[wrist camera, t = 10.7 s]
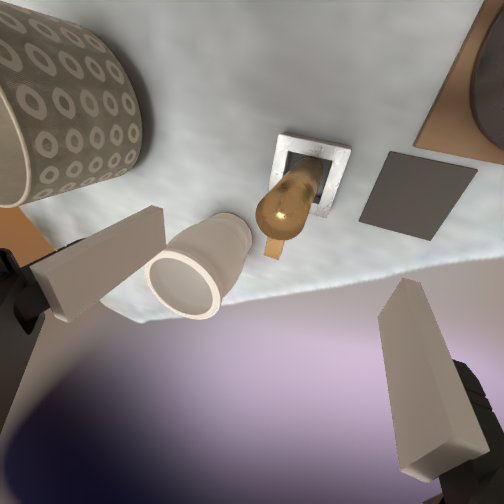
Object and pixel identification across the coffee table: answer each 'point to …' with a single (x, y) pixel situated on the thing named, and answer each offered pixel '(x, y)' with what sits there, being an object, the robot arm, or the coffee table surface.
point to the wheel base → (461, 101)
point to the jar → (200, 266)
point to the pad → (415, 195)
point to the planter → (60, 108)
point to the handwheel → (490, 84)
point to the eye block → (317, 149)
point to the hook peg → (288, 205)
